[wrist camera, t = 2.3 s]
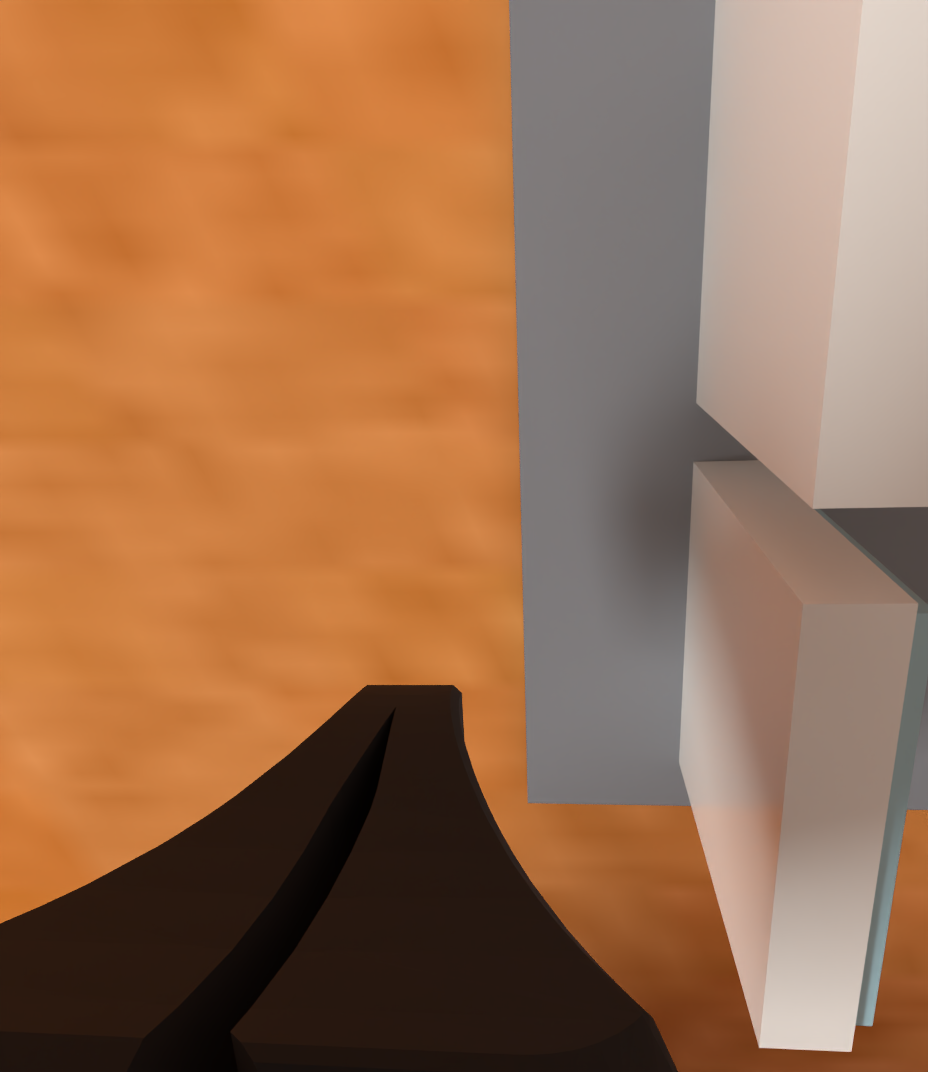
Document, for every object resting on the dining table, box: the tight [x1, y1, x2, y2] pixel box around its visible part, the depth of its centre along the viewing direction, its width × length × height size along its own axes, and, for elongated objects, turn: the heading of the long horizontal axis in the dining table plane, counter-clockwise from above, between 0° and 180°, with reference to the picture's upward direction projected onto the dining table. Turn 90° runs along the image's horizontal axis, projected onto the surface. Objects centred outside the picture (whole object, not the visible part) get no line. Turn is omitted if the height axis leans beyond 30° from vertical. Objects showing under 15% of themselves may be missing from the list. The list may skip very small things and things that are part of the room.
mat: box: [509, 0, 928, 810], centre depth 14 cm, size 14×13×1 cm
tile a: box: [679, 460, 928, 1052], centre depth 12 cm, size 6×1×6 cm, turn 3°
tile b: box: [696, 0, 928, 509], centre depth 10 cm, size 6×1×6 cm, turn 3°
